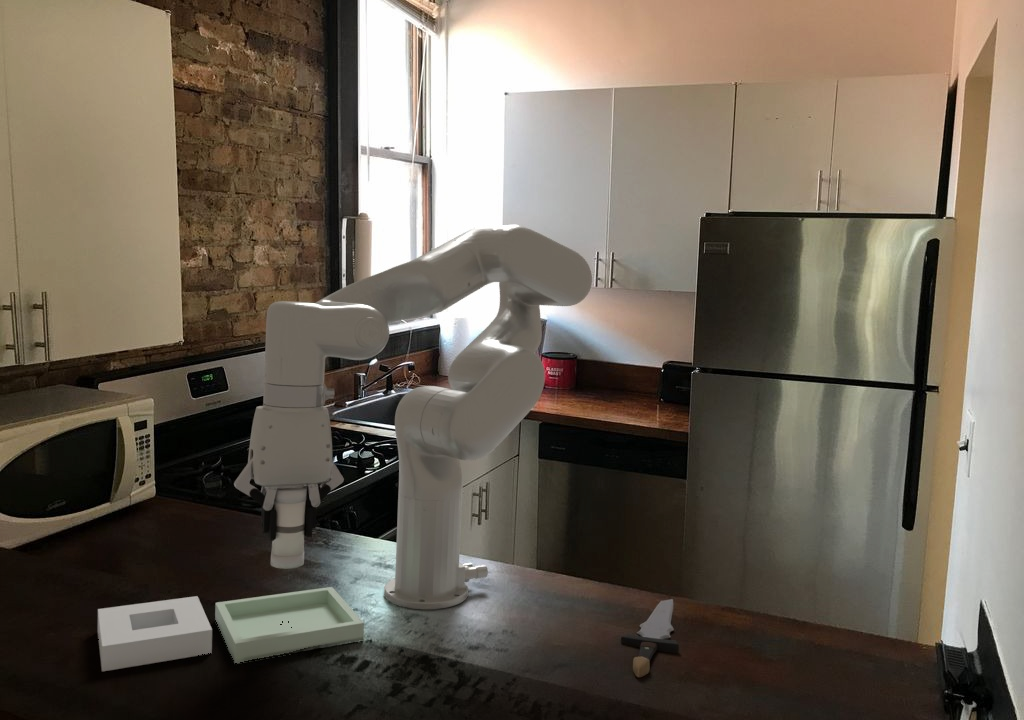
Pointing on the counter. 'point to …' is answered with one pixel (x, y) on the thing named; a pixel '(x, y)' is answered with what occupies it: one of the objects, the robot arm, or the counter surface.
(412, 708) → the counter surface
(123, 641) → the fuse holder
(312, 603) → the parts tray
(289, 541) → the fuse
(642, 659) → the dagger
